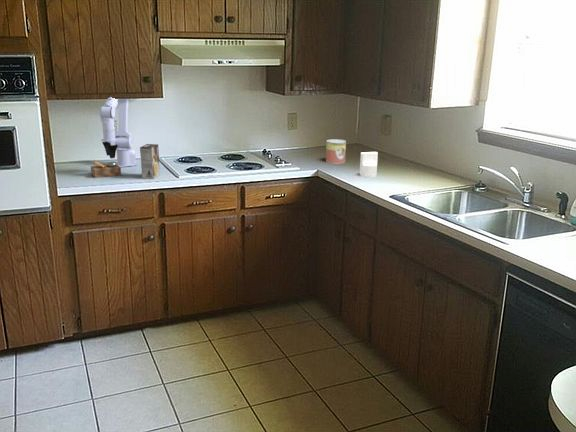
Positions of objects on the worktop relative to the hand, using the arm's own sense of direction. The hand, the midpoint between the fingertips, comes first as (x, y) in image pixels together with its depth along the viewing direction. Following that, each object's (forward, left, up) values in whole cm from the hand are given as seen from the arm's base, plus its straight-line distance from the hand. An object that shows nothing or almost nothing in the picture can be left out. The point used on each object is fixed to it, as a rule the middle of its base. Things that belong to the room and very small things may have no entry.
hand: (110, 156), depth 305 cm
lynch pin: (0, 0, -9) cm, 9 cm away
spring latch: (+6, 0, -3) cm, 7 cm away
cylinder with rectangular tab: (-120, +58, -9) cm, 134 cm away
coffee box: (-16, +14, -9) cm, 24 cm away
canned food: (-122, +23, -9) cm, 125 cm away
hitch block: (+3, 0, -9) cm, 10 cm away
